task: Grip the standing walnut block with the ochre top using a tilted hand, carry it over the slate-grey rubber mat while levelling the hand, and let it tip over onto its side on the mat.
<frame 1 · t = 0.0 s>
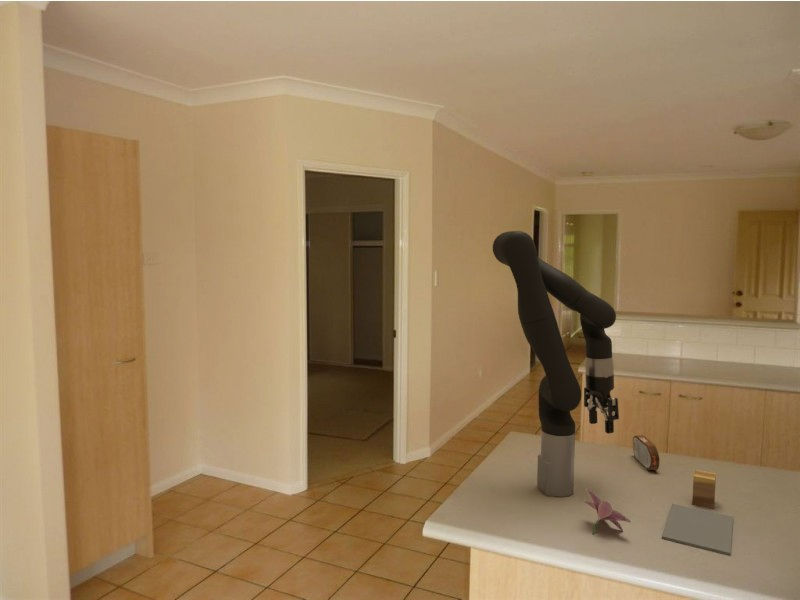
hand: (601, 428, 162), 17 cm above the counter, tool pointing down, fingers open, 8 cm apart
block: (703, 503, 152), on the counter
mat: (698, 528, 139), on the counter
tin: (644, 465, 179), on the counter
lily: (604, 530, 138), on the counter
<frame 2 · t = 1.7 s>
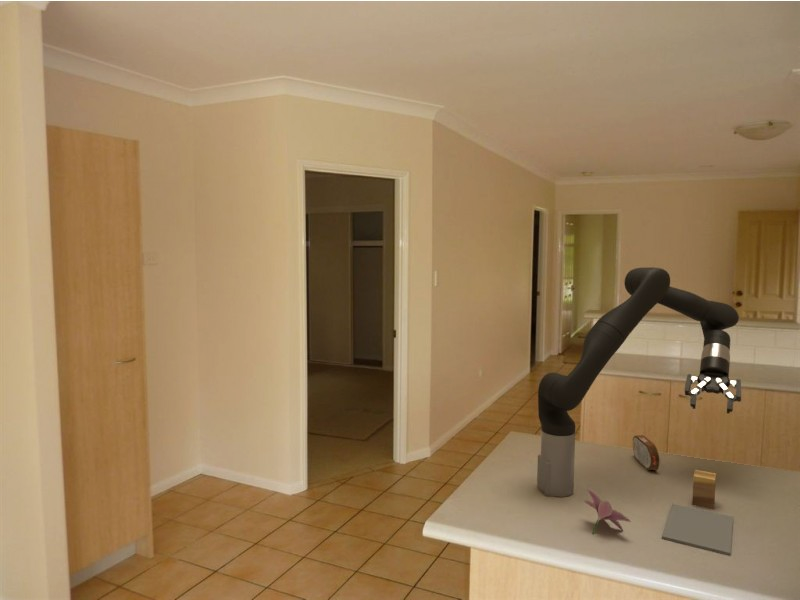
hand: (710, 409, 160), 23 cm above the counter, tool tilted 45°, fingers open, 8 cm apart
nothing on the counter moved.
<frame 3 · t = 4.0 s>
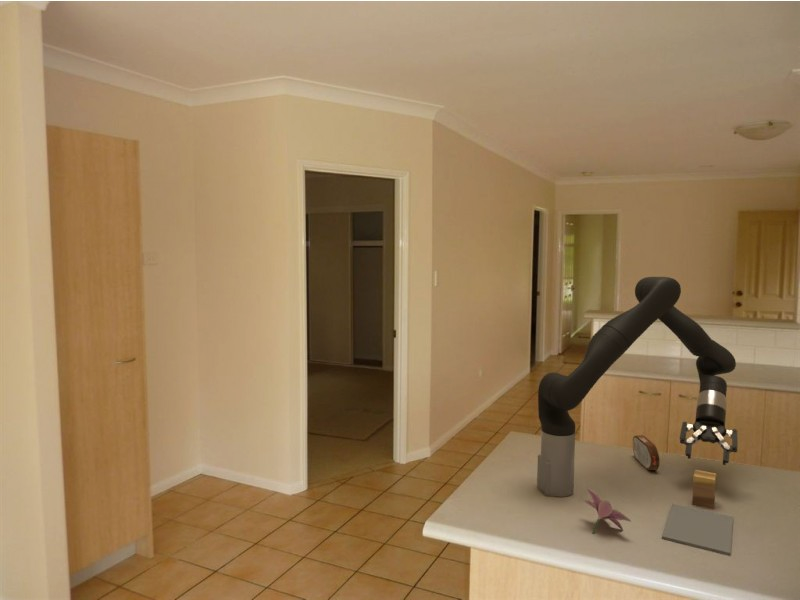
hand: (706, 460, 156), 10 cm above the counter, tool tilted 45°, fingers open, 8 cm apart
nothing on the counter moved.
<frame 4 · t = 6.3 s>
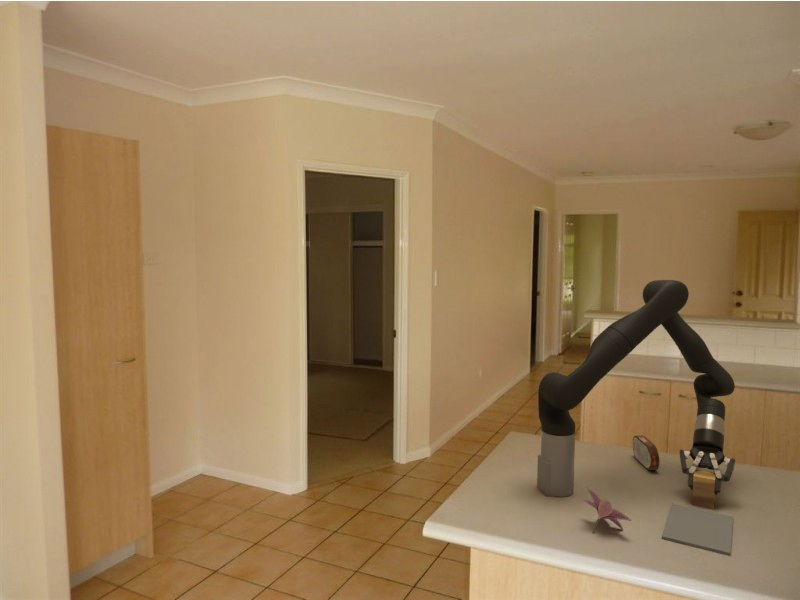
hand: (703, 490, 150), 4 cm above the counter, tool tilted 45°, fingers closed on block, 5 cm apart
block: (703, 503, 152), on the counter, touching gripper
everything else where it was.
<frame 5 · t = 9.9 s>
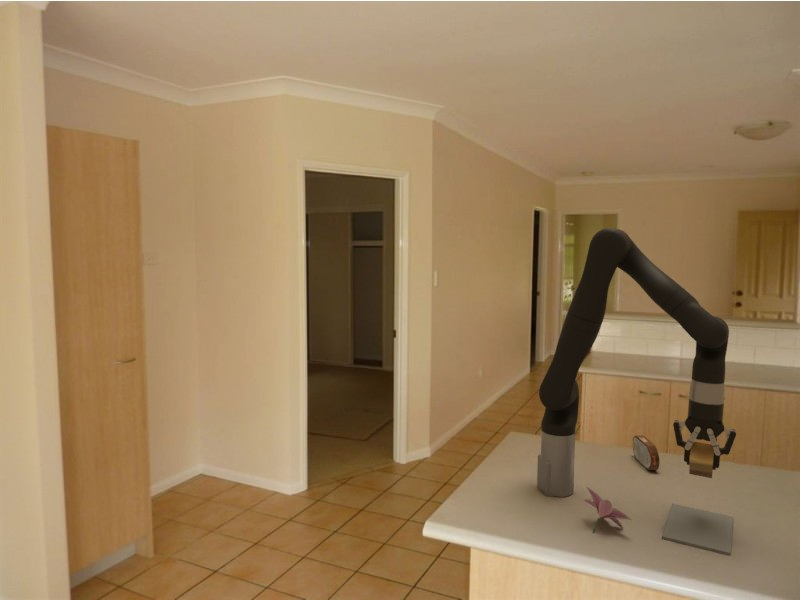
hand: (701, 466, 140), 15 cm above the counter, tool pointing down, fingers closed on block, 5 cm apart
block: (701, 466, 143), point 13 cm above the counter, tilted 45°, touching gripper
everything else where it was.
when the fingers open (5 cm above the counter, at t = 12.4 s): block moves 2 cm and tips over, resting on mat.
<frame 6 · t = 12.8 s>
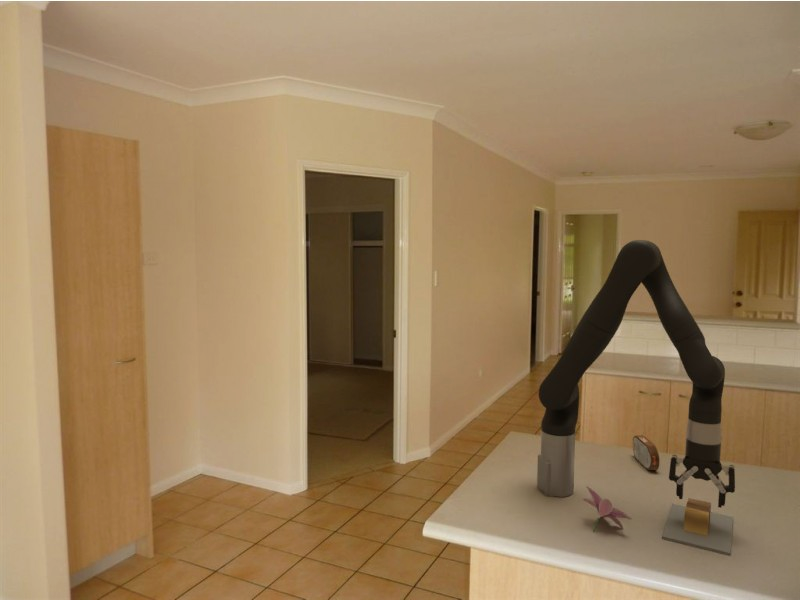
hand: (700, 502, 140), 6 cm above the counter, tool pointing down, fingers open, 8 cm apart
block: (699, 509, 142), point 3 cm above the counter, tilted 90°, touching mat
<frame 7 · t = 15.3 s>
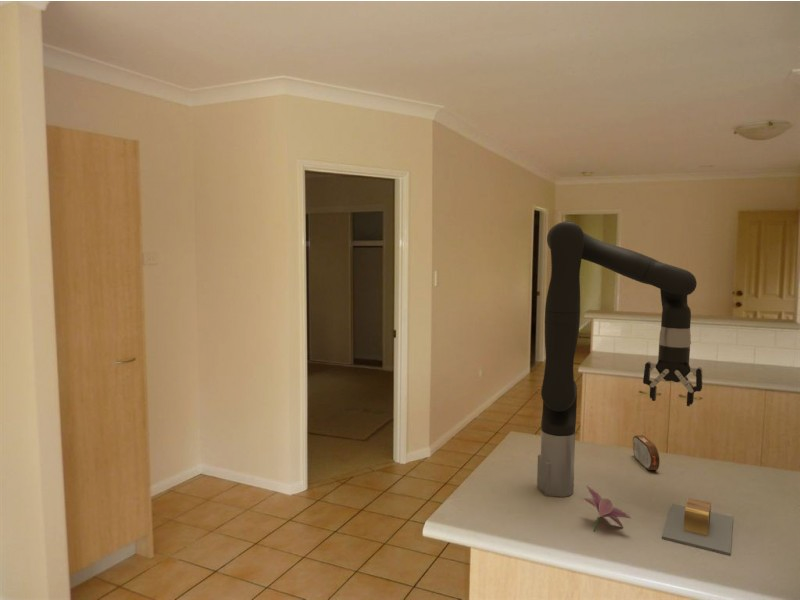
hand: (671, 402, 153), 27 cm above the counter, tool pointing down, fingers open, 8 cm apart
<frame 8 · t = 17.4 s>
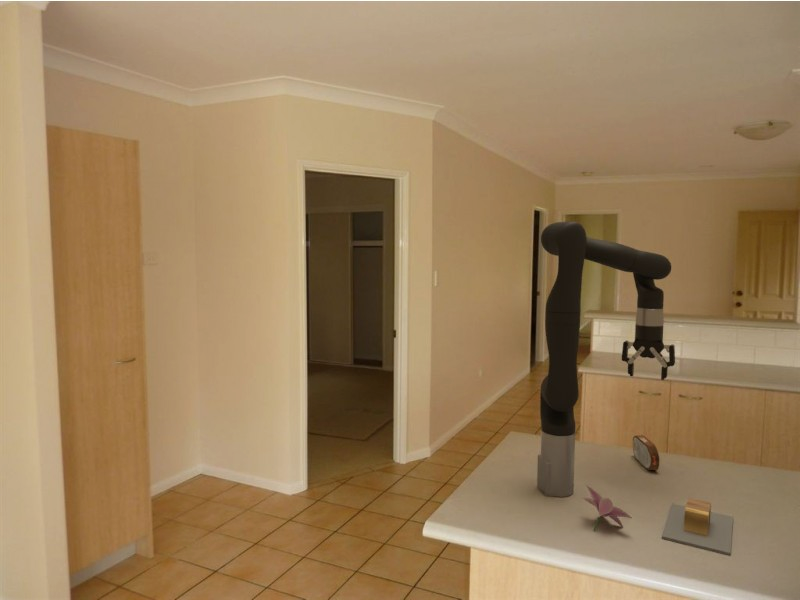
hand: (647, 377, 167), 30 cm above the counter, tool pointing down, fingers open, 8 cm apart
at the end: block tilted 90°; block 3.8 cm from the mat (horizontally); block touching mat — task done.
